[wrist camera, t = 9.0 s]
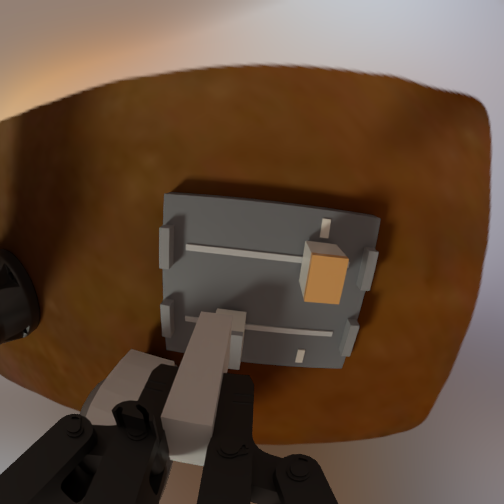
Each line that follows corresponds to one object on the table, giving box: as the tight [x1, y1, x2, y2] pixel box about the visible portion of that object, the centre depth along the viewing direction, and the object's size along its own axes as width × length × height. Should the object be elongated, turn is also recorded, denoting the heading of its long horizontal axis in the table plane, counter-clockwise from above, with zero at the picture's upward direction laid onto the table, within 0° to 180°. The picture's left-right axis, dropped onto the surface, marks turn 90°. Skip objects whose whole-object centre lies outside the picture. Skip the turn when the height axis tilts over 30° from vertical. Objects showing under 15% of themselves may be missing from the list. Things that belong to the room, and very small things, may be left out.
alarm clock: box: [80, 349, 177, 499], centre depth 26 cm, size 18×8×20 cm, turn 170°
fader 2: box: [299, 241, 349, 304], centre depth 24 cm, size 3×4×4 cm
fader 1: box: [216, 308, 246, 370], centre depth 27 cm, size 3×4×4 cm
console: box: [159, 192, 381, 368], centre depth 28 cm, size 21×18×4 cm
